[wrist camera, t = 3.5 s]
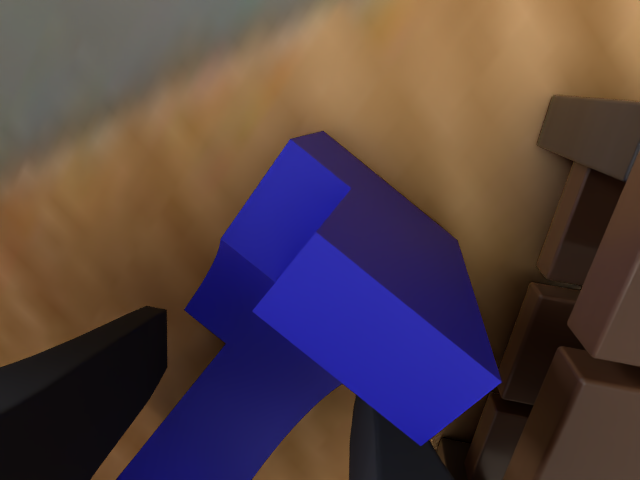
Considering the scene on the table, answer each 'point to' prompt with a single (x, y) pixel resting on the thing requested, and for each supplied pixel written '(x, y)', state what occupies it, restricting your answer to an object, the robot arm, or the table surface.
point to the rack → (574, 319)
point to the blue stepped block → (323, 319)
